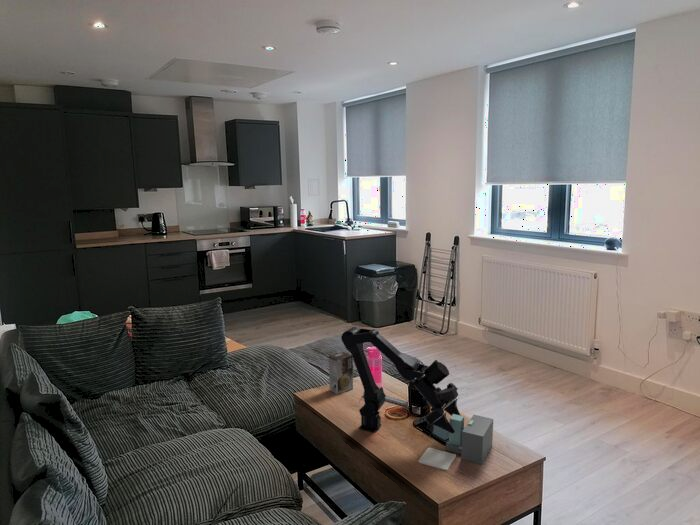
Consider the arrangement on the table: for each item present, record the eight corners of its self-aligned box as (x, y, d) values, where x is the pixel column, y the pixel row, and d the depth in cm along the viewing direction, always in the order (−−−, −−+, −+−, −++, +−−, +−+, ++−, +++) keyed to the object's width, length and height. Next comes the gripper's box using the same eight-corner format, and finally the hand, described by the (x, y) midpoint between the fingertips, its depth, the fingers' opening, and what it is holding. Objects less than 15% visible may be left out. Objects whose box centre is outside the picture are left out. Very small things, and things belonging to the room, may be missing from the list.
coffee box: (344, 384, 230) (344, 351, 227) (353, 389, 225) (353, 355, 222) (328, 390, 224) (328, 355, 221) (337, 394, 219) (337, 359, 216)
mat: (418, 462, 165) (418, 461, 165) (428, 448, 174) (428, 447, 174) (446, 470, 160) (447, 469, 160) (456, 456, 169) (456, 454, 169)
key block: (448, 447, 174) (449, 418, 173) (452, 442, 178) (453, 413, 176) (459, 450, 172) (460, 421, 171) (463, 445, 176) (464, 416, 174)
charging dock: (442, 454, 170) (443, 425, 169) (455, 436, 182) (456, 409, 181) (482, 464, 164) (483, 435, 162) (492, 445, 176) (493, 417, 174)
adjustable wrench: (416, 407, 207) (416, 403, 207) (408, 412, 202) (408, 408, 202) (368, 391, 223) (368, 388, 222) (359, 396, 218) (359, 392, 217)
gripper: (435, 388, 166) (466, 426, 162) (452, 370, 182) (481, 404, 178) (412, 405, 171) (443, 443, 167) (431, 386, 187) (459, 420, 183)
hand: (457, 427), depth 174 cm, fingers open, 9 cm apart
